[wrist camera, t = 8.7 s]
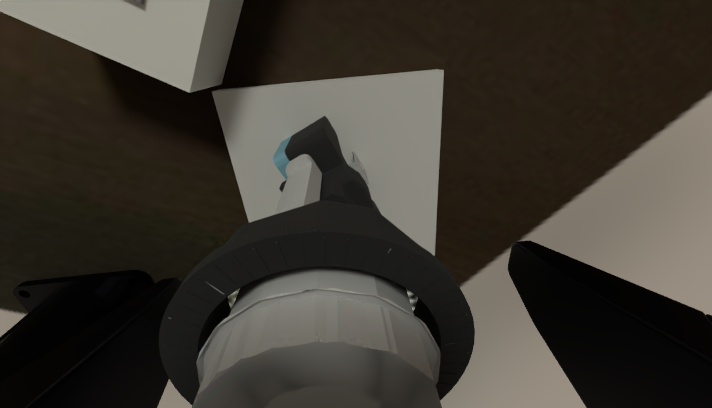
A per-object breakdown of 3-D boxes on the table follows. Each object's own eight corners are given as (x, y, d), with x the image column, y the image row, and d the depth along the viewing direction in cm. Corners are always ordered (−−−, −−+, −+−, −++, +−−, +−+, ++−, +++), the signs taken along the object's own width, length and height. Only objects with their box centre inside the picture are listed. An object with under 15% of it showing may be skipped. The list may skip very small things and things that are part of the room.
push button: (419, 214, 14) (558, 473, 6) (326, 261, 15) (315, 549, 6) (352, 87, 12) (412, 197, 3) (242, 154, 13) (17, 402, 4)
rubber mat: (267, 265, 16) (263, 274, 15) (218, 89, 12) (211, 91, 11) (430, 247, 16) (434, 256, 16) (437, 69, 12) (443, 70, 12)
